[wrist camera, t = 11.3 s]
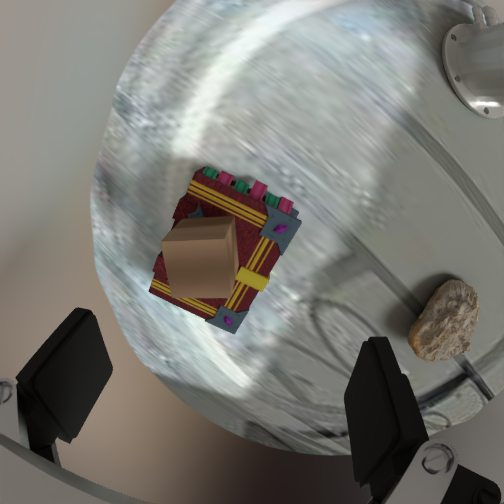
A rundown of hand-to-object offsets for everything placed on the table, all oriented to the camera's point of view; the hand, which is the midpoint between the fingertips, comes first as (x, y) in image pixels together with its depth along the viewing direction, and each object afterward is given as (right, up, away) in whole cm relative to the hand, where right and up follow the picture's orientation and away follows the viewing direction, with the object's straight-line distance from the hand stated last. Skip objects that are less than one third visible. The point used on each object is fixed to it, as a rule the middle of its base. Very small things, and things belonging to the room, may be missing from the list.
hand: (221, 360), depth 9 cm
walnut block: (-3, +5, +19) cm, 20 cm away
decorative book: (-2, +5, +24) cm, 25 cm away
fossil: (+28, -5, +26) cm, 39 cm away
